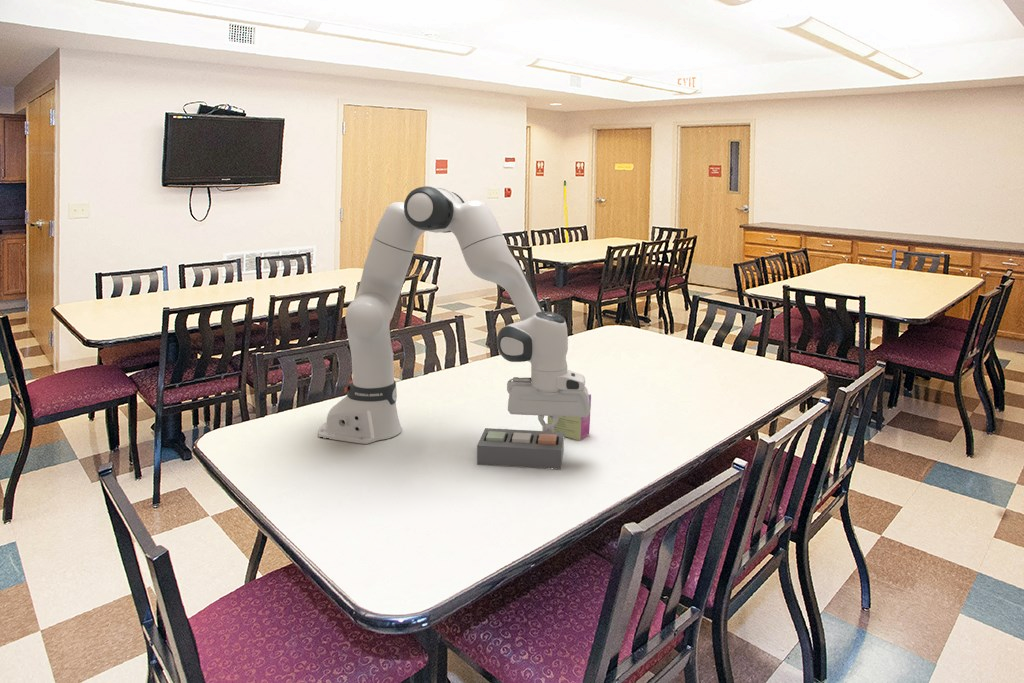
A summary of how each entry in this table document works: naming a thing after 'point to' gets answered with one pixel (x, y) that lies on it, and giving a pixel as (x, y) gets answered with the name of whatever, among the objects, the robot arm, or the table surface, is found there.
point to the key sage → (496, 436)
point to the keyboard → (520, 451)
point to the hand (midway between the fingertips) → (548, 431)
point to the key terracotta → (547, 439)
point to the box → (573, 425)
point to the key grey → (521, 438)
